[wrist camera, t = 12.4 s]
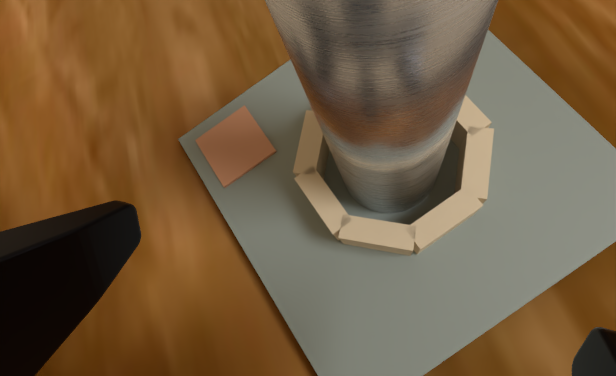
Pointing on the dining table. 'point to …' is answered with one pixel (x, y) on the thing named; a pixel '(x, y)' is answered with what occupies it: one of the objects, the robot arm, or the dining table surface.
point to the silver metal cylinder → (385, 85)
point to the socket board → (410, 218)
